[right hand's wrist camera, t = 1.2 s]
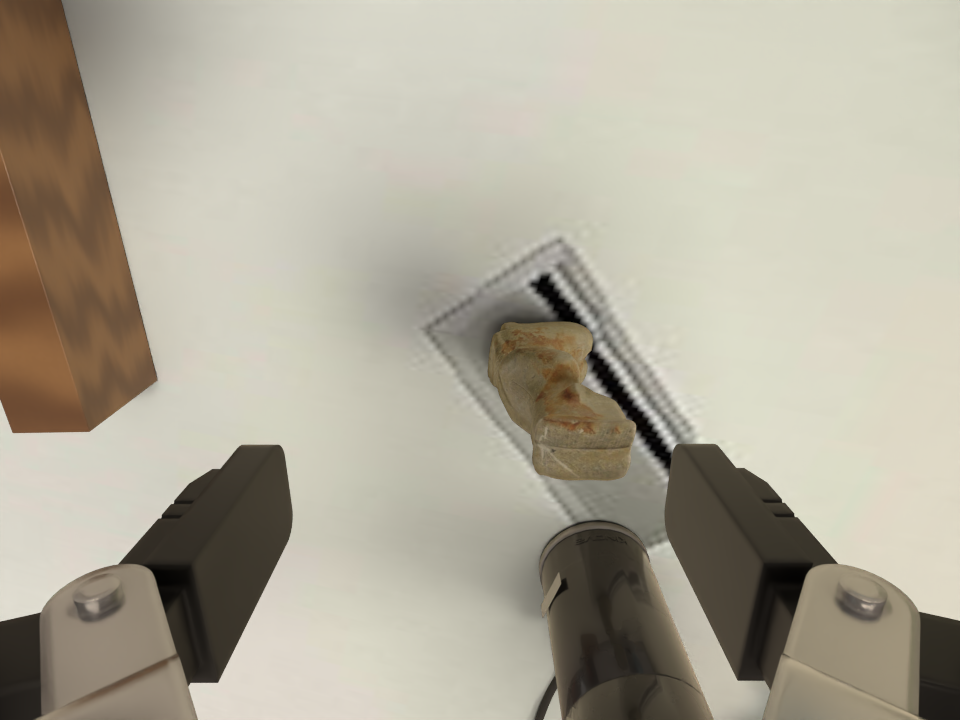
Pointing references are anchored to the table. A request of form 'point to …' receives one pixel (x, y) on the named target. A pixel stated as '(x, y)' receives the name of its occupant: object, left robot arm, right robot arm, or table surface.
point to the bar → (59, 242)
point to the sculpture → (559, 401)
